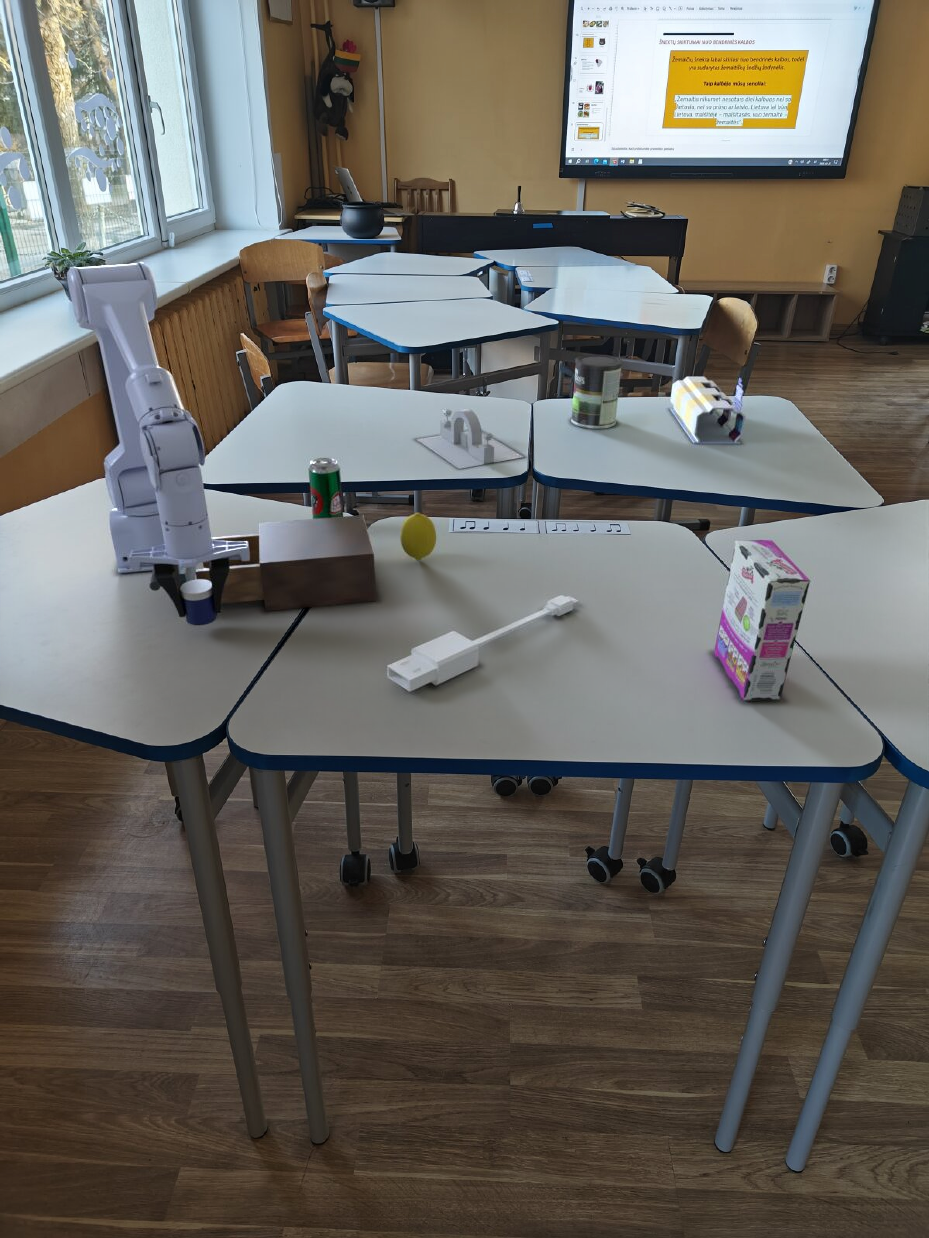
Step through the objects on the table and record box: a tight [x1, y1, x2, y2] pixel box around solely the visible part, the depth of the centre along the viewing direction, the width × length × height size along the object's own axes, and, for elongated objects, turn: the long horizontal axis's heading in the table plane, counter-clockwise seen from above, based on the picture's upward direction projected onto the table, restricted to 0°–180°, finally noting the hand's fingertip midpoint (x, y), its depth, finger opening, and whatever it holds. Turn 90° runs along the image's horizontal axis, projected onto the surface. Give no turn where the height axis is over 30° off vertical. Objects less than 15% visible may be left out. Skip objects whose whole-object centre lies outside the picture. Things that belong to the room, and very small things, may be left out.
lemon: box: [400, 512, 437, 561], centre depth 132 cm, size 6×6×8 cm
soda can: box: [308, 457, 344, 519], centre depth 141 cm, size 5×5×12 cm
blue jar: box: [180, 579, 218, 627], centre depth 113 cm, size 4×4×5 cm
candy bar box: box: [713, 539, 811, 702], centre depth 103 cm, size 11×5×16 cm, turn 5°
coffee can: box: [570, 353, 623, 430], centre depth 193 cm, size 10×10×14 cm
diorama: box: [669, 375, 746, 445], centre depth 191 cm, size 25×10×13 cm, turn 0°
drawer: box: [149, 533, 264, 605], centre depth 123 cm, size 19×12×6 cm, turn 102°
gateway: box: [439, 408, 496, 465], centre depth 178 cm, size 20×2×8 cm, turn 28°
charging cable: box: [386, 594, 579, 693], centre depth 112 cm, size 5×32×3 cm, turn 133°
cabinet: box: [258, 514, 377, 612], centre depth 125 cm, size 16×14×8 cm
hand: (200, 611), depth 113 cm, fingers closed on blue jar, 4 cm apart
